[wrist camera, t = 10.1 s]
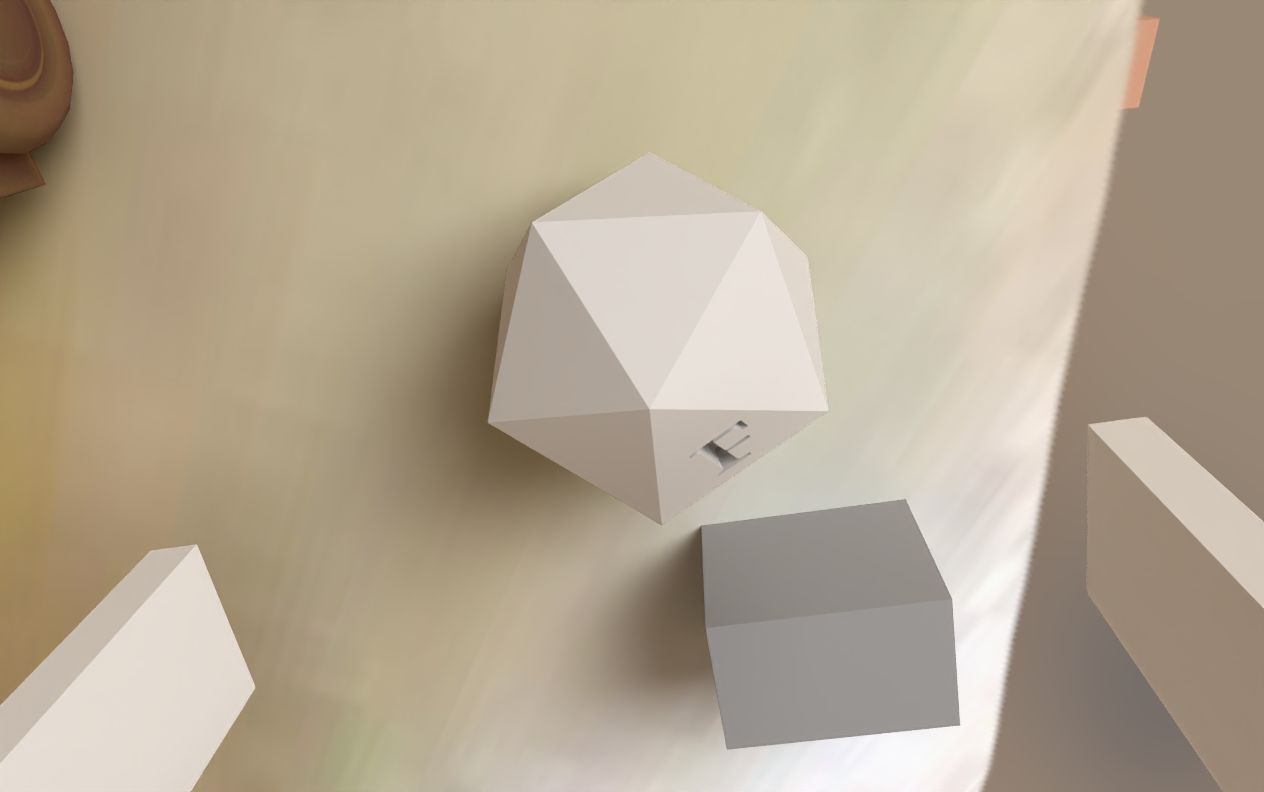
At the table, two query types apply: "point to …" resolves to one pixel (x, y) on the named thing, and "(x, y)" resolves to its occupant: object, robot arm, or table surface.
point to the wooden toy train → (30, 88)
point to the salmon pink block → (1140, 60)
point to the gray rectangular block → (827, 626)
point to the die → (656, 338)
